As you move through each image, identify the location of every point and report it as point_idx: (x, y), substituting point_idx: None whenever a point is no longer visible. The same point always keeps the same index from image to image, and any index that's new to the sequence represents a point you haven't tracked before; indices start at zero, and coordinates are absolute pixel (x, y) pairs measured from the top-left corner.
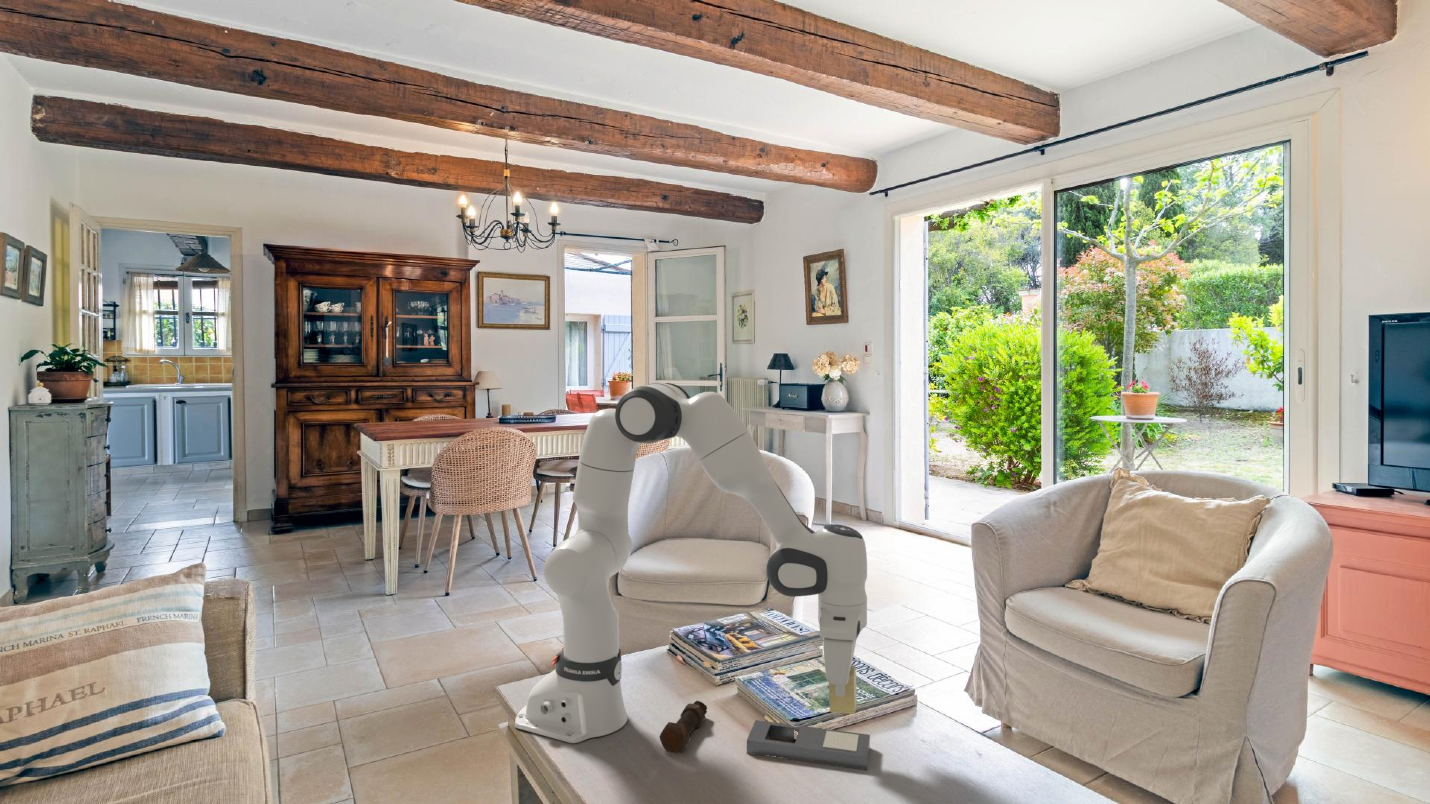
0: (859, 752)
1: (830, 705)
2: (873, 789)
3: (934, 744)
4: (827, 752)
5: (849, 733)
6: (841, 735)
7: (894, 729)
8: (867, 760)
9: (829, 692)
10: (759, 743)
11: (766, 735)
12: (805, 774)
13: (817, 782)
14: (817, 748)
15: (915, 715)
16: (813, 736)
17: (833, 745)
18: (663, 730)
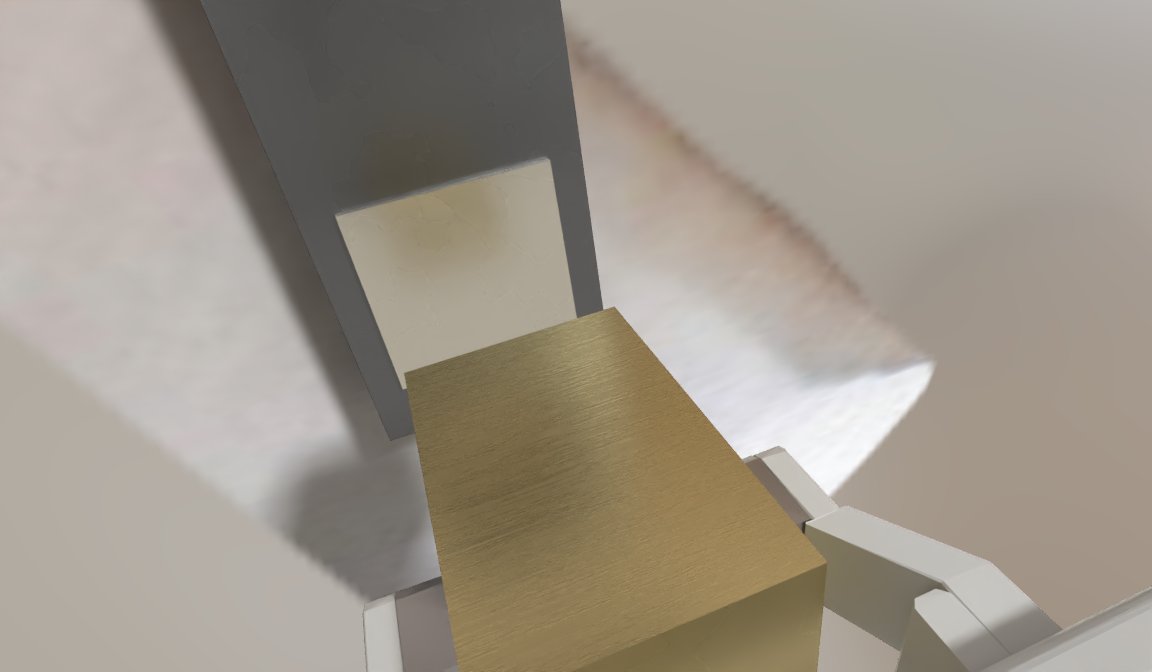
0: (407, 399)
1: (413, 414)
2: (240, 475)
3: None
4: (310, 252)
5: (583, 282)
6: (533, 260)
7: (771, 352)
8: None
9: (428, 502)
10: None
11: None
12: (100, 144)
13: (73, 246)
14: (300, 187)
15: (889, 372)
16: (444, 99)
17: (391, 267)
18: None
